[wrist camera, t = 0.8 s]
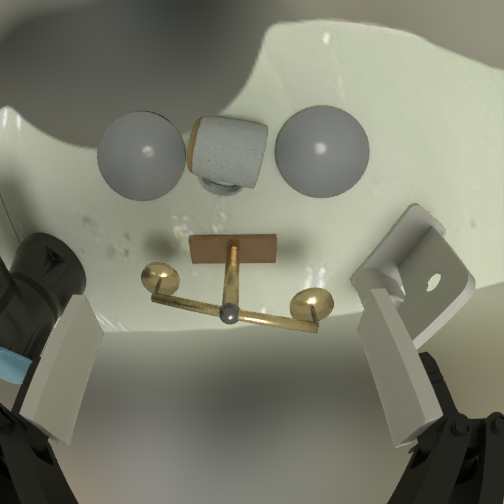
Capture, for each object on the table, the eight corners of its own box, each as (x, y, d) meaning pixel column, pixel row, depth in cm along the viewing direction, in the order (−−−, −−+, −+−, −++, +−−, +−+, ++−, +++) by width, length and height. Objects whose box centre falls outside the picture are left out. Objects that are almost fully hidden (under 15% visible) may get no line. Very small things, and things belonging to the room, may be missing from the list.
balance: (158, 261, 43) (129, 344, 30) (152, 233, 40) (115, 314, 27) (311, 260, 44) (335, 344, 30) (315, 231, 41) (345, 314, 28)
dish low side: (108, 201, 37) (106, 203, 37) (94, 118, 30) (91, 119, 30) (189, 196, 37) (188, 198, 37) (182, 105, 31) (181, 106, 30)
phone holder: (383, 300, 49) (418, 381, 35) (344, 281, 46) (377, 373, 32) (446, 229, 41) (506, 301, 26) (412, 199, 38) (482, 275, 23)
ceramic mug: (201, 109, 31) (189, 120, 25) (267, 120, 32) (272, 133, 26) (190, 186, 37) (179, 213, 31) (250, 195, 38) (251, 224, 32)
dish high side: (274, 194, 38) (274, 197, 37) (276, 103, 31) (277, 103, 30) (360, 197, 38) (362, 199, 37) (371, 111, 31) (374, 112, 30)
